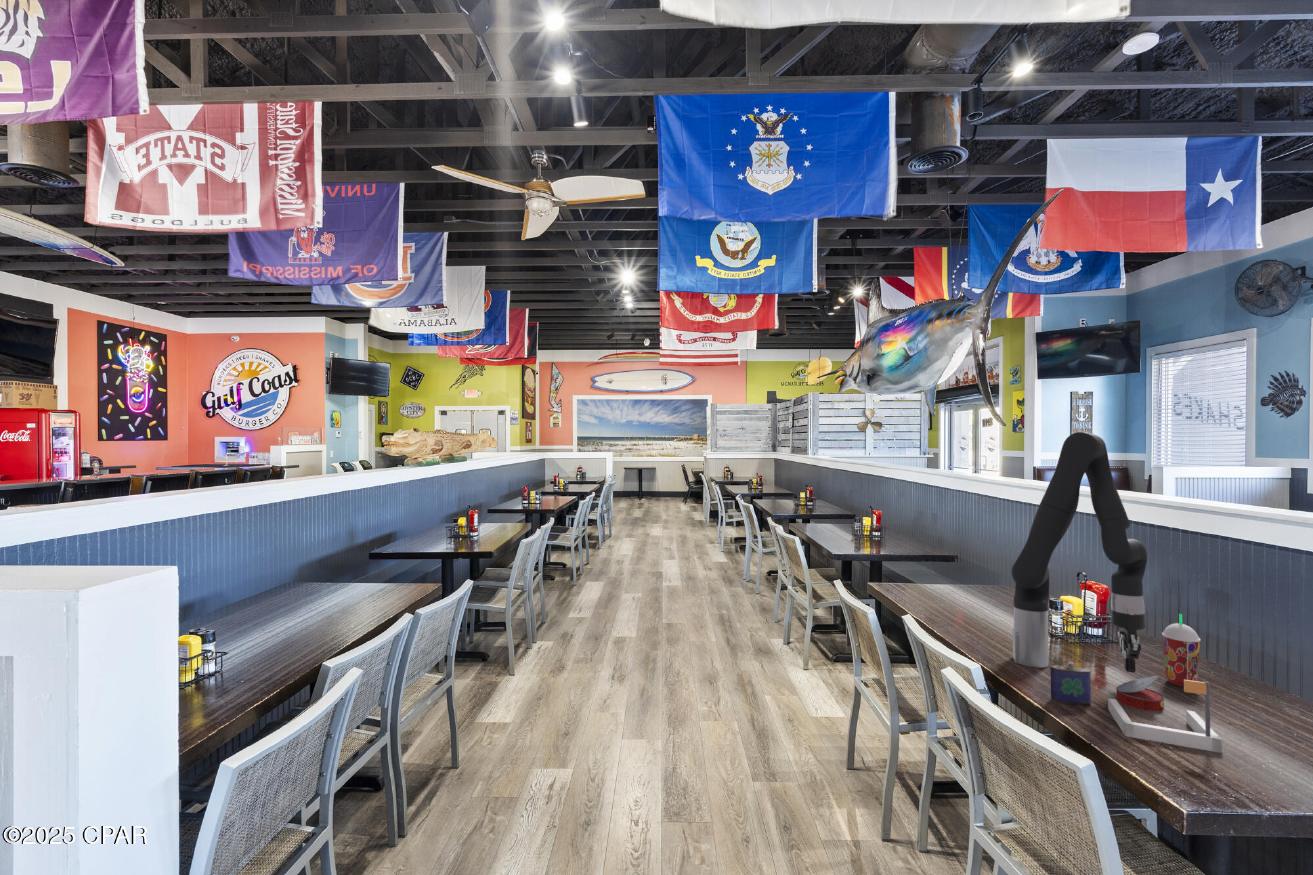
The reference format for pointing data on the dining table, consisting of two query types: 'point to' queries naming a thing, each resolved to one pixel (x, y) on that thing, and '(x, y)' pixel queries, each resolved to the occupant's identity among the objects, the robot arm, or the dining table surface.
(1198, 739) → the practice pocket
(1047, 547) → the robot arm
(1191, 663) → the smoothie
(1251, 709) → the dining table surface
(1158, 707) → the canned food
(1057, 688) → the flask
